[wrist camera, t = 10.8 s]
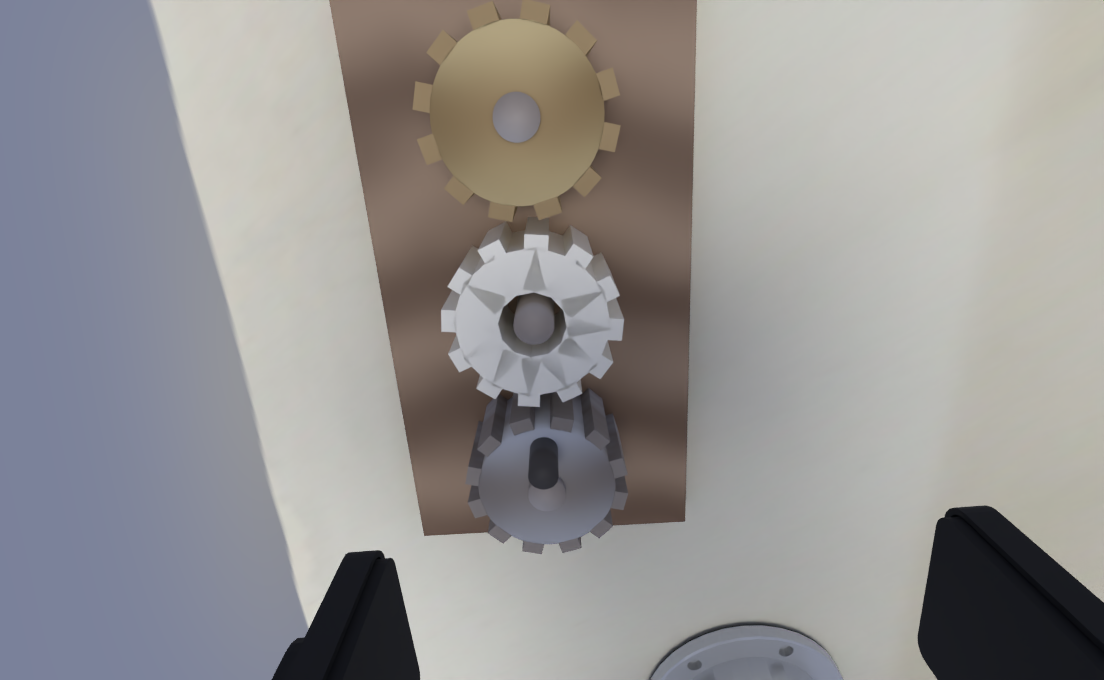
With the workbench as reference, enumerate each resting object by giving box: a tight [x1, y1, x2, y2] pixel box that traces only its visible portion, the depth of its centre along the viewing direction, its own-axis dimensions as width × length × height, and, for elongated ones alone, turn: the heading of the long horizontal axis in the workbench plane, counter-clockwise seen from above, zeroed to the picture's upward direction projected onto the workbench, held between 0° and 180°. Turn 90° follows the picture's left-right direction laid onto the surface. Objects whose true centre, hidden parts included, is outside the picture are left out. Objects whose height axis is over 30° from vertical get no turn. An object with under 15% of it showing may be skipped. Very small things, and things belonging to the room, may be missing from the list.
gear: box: [441, 217, 624, 407], centre depth 24 cm, size 7×7×4 cm
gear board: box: [329, 0, 697, 554], centre depth 24 cm, size 26×14×8 cm, turn 4°
